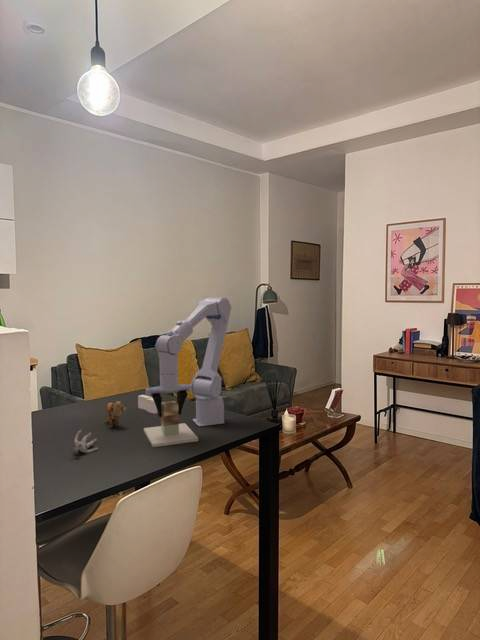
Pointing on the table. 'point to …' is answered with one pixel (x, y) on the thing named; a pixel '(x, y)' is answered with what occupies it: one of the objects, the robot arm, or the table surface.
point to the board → (170, 435)
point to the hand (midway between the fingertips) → (169, 415)
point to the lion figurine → (114, 412)
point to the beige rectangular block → (147, 404)
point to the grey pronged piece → (83, 444)
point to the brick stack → (169, 413)
